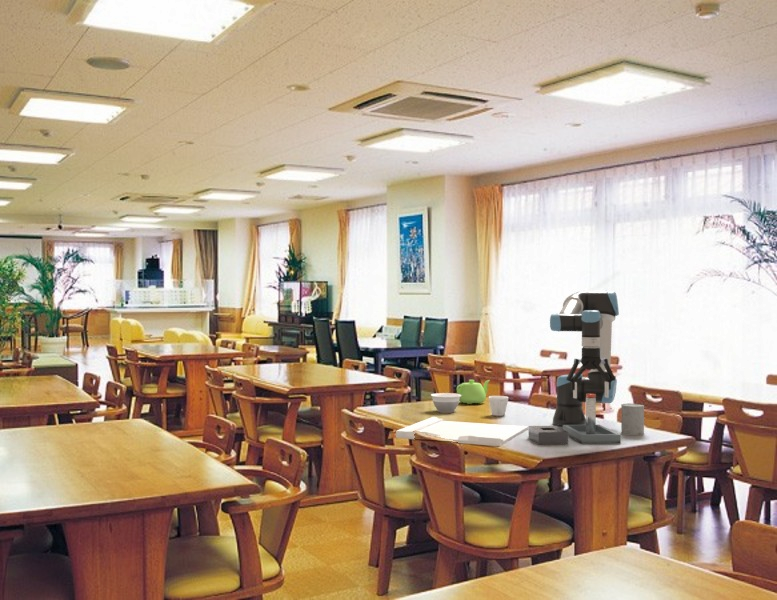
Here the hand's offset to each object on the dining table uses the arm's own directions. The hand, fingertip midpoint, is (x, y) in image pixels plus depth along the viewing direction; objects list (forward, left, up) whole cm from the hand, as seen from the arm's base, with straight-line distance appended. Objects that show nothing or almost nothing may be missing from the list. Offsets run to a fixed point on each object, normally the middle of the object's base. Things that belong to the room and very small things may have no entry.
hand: (590, 397), depth 334 cm
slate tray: (0, 0, -17) cm, 17 cm away
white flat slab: (-15, -51, -18) cm, 56 cm away
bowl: (-82, -49, -17) cm, 97 cm away
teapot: (-113, -29, -17) cm, 118 cm away
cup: (-66, -25, -17) cm, 72 cm away
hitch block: (+6, -20, -17) cm, 27 cm away
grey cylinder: (-10, +22, -17) cm, 29 cm away
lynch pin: (0, 0, -16) cm, 16 cm away
